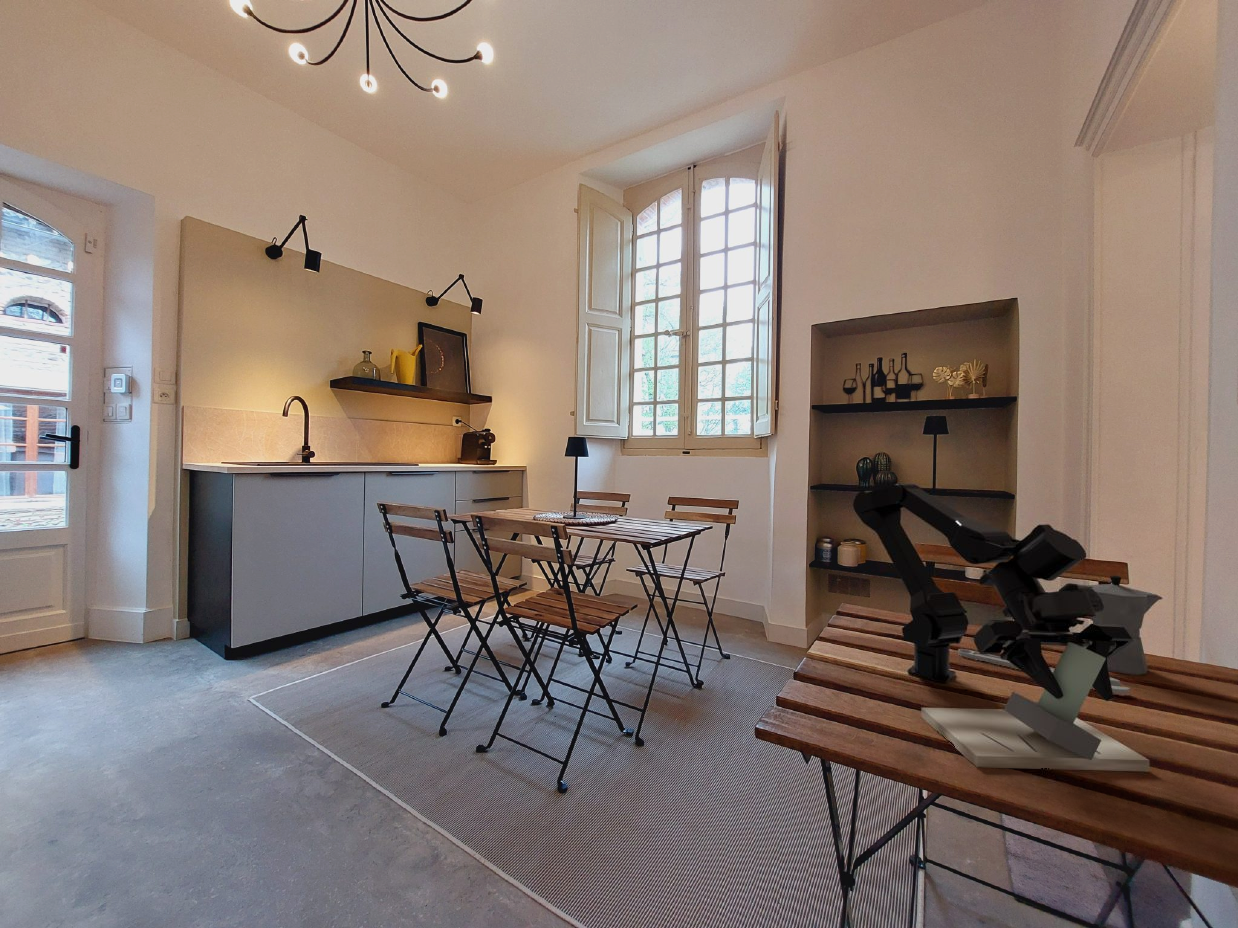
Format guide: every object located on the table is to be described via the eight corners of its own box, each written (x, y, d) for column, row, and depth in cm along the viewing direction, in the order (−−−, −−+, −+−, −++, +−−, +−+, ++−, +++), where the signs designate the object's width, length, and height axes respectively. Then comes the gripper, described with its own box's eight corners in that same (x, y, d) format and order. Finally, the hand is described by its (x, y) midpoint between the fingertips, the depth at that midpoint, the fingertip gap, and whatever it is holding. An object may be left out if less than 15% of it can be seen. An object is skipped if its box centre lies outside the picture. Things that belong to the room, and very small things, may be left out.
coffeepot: (1150, 663, 101) (1150, 574, 100) (1173, 681, 92) (1174, 584, 92) (1051, 649, 108) (1051, 566, 108) (1065, 665, 100) (1065, 575, 100)
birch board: (921, 716, 79) (921, 707, 79) (1064, 720, 78) (1064, 710, 78) (976, 766, 66) (976, 755, 66) (1149, 771, 65) (1149, 759, 65)
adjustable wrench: (956, 658, 104) (956, 650, 104) (965, 650, 109) (965, 642, 109) (1126, 701, 85) (1126, 690, 85) (1129, 690, 90) (1129, 680, 90)
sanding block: (1048, 739, 65) (1093, 651, 65) (1003, 709, 73) (1043, 630, 73) (1091, 760, 65) (1135, 671, 65) (1041, 727, 73) (1081, 648, 73)
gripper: (986, 564, 73) (1045, 669, 62) (1120, 568, 72) (1206, 676, 61) (953, 604, 81) (1001, 704, 70) (1074, 609, 80) (1143, 711, 69)
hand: (1085, 698), depth 67 cm, fingers closed on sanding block, 6 cm apart
